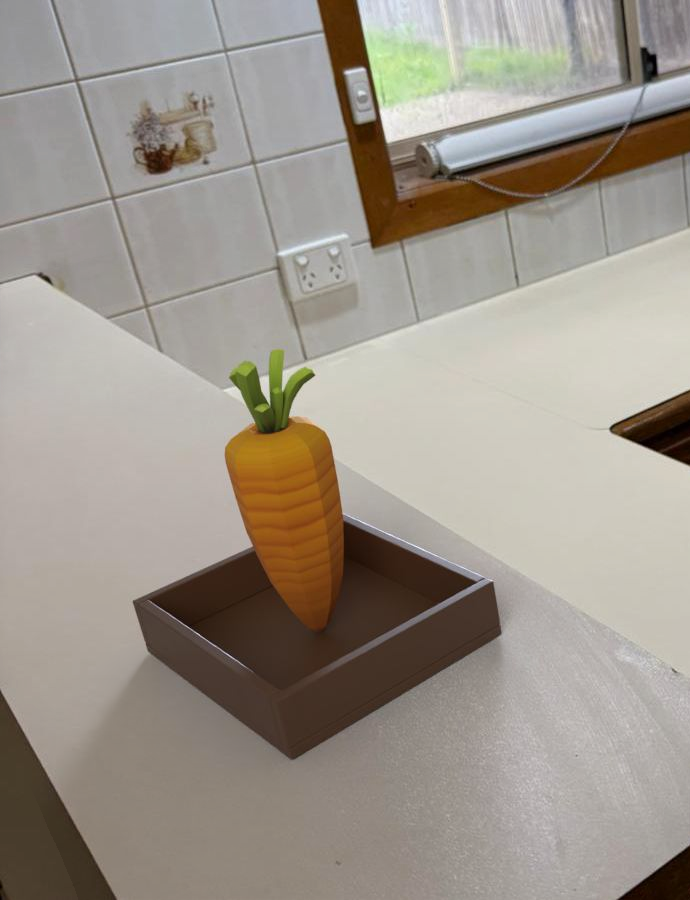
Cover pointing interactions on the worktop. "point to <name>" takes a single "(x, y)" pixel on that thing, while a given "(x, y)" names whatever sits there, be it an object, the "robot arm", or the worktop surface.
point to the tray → (319, 636)
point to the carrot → (288, 494)
